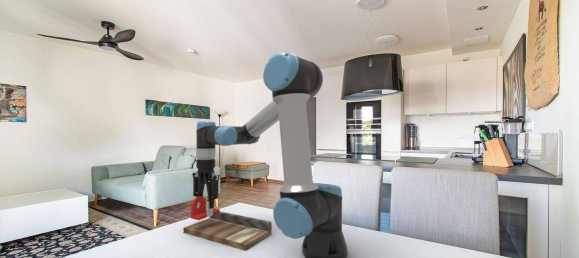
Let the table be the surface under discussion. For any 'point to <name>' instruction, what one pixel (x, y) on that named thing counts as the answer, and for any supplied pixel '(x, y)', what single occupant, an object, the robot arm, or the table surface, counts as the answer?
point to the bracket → (200, 209)
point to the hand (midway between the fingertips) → (205, 214)
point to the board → (231, 230)
